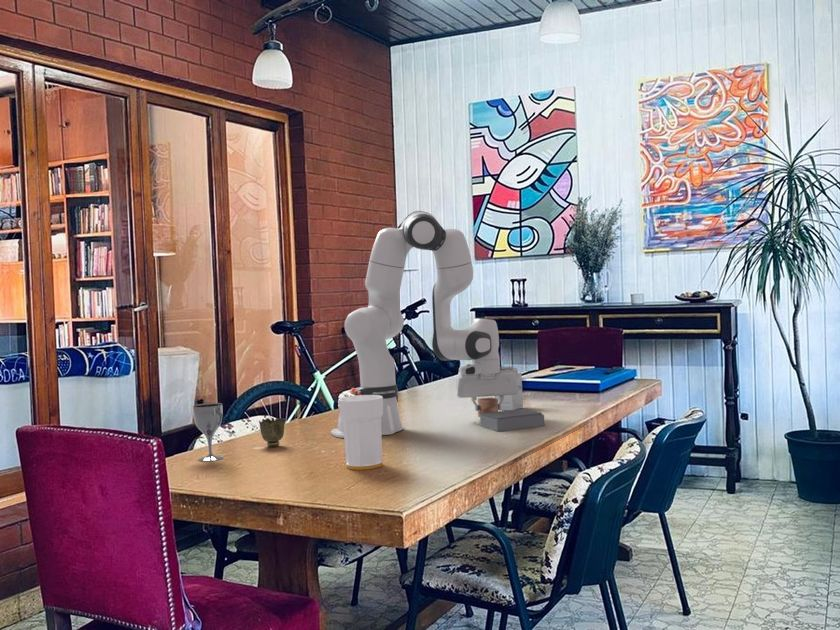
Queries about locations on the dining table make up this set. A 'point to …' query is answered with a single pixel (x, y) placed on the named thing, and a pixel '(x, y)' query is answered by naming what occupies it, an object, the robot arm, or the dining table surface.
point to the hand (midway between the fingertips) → (487, 410)
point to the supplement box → (513, 398)
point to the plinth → (512, 419)
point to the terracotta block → (487, 405)
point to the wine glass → (208, 424)
